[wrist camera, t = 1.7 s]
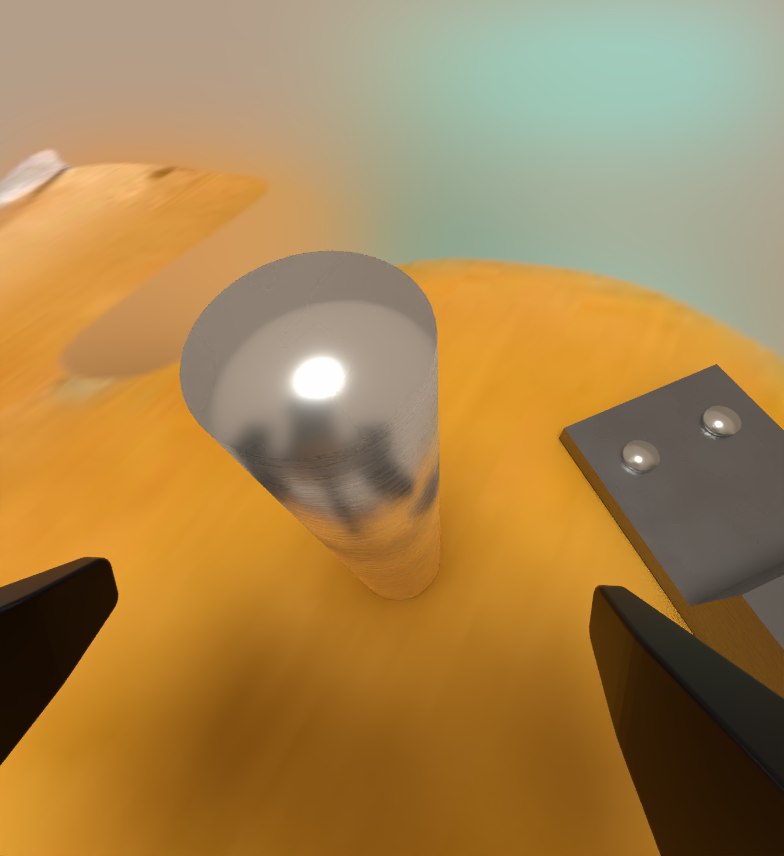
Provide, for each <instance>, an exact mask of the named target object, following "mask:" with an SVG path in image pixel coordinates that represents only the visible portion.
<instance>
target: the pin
mask: <svg viewBox="0 0 784 856" xmlns="http://www.w3.org/2000/svg"><path fill="white" fill-rule="evenodd" d="M180 381H181V389H182V392H183V396H184V400H185V402H186V404H187V406H188V408H189V410H190V412H191V414H192V415H193V416H194V418H195V419H196V421H197V422H198V423H199V424H200V425H201V426H202V427H203V428H204V429H205V430H206V431H207V432H208V433H209V434H210V435H211V436H212V437H213V438H214V439H215V440H216V441H217V442H218V443H219V444H220V445H221V446H222V447H223V448H224V449H225V450H226V451H227V452H229V453H230V454H231V455H232V456H233V457H234V458H235V459H236V460H237V461H238V462H239V463H240V464H241V465H242V466H243V467H244V468H245V469H246V470H247V471H248V472H249V473H250V474H251V475H252V476H253V477H254V478H255V479H256V480H257V481H258V482H260V483H261V484H262V485H263V486H264V487H265V488H266V489H267V490H268V491H269V492H270V493H271V494H272V495H273V496H274V497H275V498H276V499H277V500H278V501H279V502H280V503H281V504H282V505H283V506H284V507H285V508H286V509H287V510H288V511H290V512H291V513H292V514H293V515H294V516H295V517H296V518H297V519H298V520H299V521H300V522H301V523H302V524H303V525H304V526H305V527H306V528H307V529H308V530H309V531H310V532H311V533H312V534H313V535H314V536H315V537H316V538H317V539H318V540H319V541H321V542H322V543H323V544H324V545H325V546H326V547H327V548H328V549H329V550H330V551H331V552H332V553H333V554H334V555H335V556H336V557H337V558H338V559H339V560H340V561H341V562H342V563H343V564H344V565H345V566H346V567H347V568H348V569H349V570H350V571H352V572H353V573H354V574H355V575H356V576H357V577H358V578H359V579H360V580H361V581H362V582H363V583H364V584H365V585H366V586H367V587H368V588H369V589H370V590H371V591H372V592H374V593H375V594H377V595H379V596H381V597H383V598H386V599H390V600H405V599H410V598H412V597H415V596H417V595H419V594H420V593H422V592H423V591H424V590H426V589H427V588H428V587H429V585H430V584H431V583H432V582H433V580H434V578H435V577H436V574H437V572H438V569H439V565H440V497H439V427H438V358H437V327H436V320H435V316H434V313H433V310H432V307H431V305H430V303H429V301H428V299H427V297H426V295H425V294H424V292H423V291H422V290H421V288H420V287H419V286H418V285H417V284H416V283H415V282H414V281H413V280H412V279H411V278H410V277H409V276H408V275H407V274H405V273H404V272H402V271H401V270H400V269H398V268H396V267H395V266H393V265H391V264H389V263H387V262H385V261H382V260H380V259H377V258H375V257H371V256H367V255H363V254H358V253H352V252H344V251H318V252H310V253H303V254H299V255H294V256H290V257H287V258H283V259H280V260H276V261H274V262H271V263H269V264H266V265H264V266H261V267H259V268H258V269H255V270H253V271H252V272H249V273H248V274H246V275H245V276H243V277H241V278H240V279H238V280H236V281H235V282H234V283H232V284H231V285H230V286H228V287H227V288H226V289H224V290H223V291H222V292H221V293H220V294H219V295H218V296H217V297H216V298H215V299H214V300H213V301H212V302H211V303H210V304H209V305H208V306H207V307H206V308H205V310H204V311H203V312H202V314H201V315H200V317H199V318H198V319H197V321H196V322H195V324H194V326H193V328H192V329H191V331H190V333H189V335H188V338H187V340H186V343H185V346H184V349H183V353H182V357H181V364H180Z"/></svg>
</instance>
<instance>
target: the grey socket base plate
mask: <svg viewBox="0 0 784 856" xmlns="http://www.w3.org/2000/svg"><path fill="white" fill-rule="evenodd" d="M559 439H560V440H561V442H562V443H563V445H564V446H565V448H566V449H567V451H568V452H569V453H570V455H571V456H572V458H573V459H574V461H575V462H576V464H577V465H578V467H579V468H580V469H581V471H582V472H583V474H584V475H585V477H586V478H587V480H588V481H589V483H590V484H591V485H592V487H593V488H594V490H595V491H596V493H597V494H598V496H599V497H600V499H601V500H602V501H603V503H604V504H605V506H606V507H607V509H608V510H609V512H610V513H611V515H612V516H613V517H614V519H615V520H616V522H617V523H618V525H619V526H620V528H621V529H622V530H623V532H624V533H625V535H626V536H627V538H628V539H629V541H630V542H631V544H632V545H633V546H634V548H635V549H636V551H637V552H638V554H639V555H640V557H641V558H642V560H643V561H644V562H645V564H646V565H647V567H648V568H649V570H650V571H651V573H652V574H653V576H654V577H655V578H656V580H657V581H658V583H659V584H660V586H661V587H662V589H663V590H664V592H665V593H666V594H667V596H668V597H669V599H670V600H671V602H672V603H673V605H674V606H675V608H676V609H677V610H678V612H679V613H680V615H681V616H682V618H683V619H684V621H685V622H686V624H687V625H688V626H689V628H690V629H691V631H692V632H693V634H694V635H695V637H696V638H698V639H699V640H701V641H702V642H704V643H705V644H707V645H708V646H709V647H711V648H712V649H714V650H715V651H717V652H718V653H719V654H721V655H722V656H724V657H725V658H727V659H728V660H730V661H731V662H732V663H734V664H735V665H737V666H738V667H740V668H741V669H743V670H744V671H745V672H747V673H748V674H750V675H751V676H753V677H754V678H756V679H757V680H758V681H760V682H761V683H763V684H764V685H766V686H767V687H768V688H770V689H771V690H773V691H774V692H776V693H777V694H779V695H780V696H781V697H783V698H784V430H783V429H782V428H781V427H780V426H779V425H778V424H777V423H775V422H774V421H773V420H772V419H771V418H770V417H769V416H768V415H767V414H766V413H765V412H764V411H763V410H762V409H761V408H760V407H759V406H758V405H757V404H756V403H755V402H754V401H753V400H752V399H751V398H750V397H749V396H748V395H747V394H746V393H745V392H744V391H743V390H742V389H741V388H740V387H739V386H738V385H737V384H736V383H735V382H734V381H733V380H732V379H731V378H730V377H729V376H728V375H727V374H726V373H725V372H724V371H723V370H722V369H721V368H720V367H719V366H718V365H717V364H716V365H713V366H711V367H709V368H706V369H704V370H702V371H699V372H697V373H694V374H692V375H690V376H687V377H685V378H682V379H680V380H678V381H675V382H673V383H671V384H668V385H666V386H663V387H661V388H659V389H656V390H654V391H651V392H649V393H647V394H644V395H642V396H640V397H637V398H635V399H632V400H630V401H628V402H625V403H623V404H620V405H618V406H616V407H613V408H611V409H609V410H606V411H604V412H601V413H599V414H597V415H594V416H592V417H589V418H587V419H585V420H582V421H580V422H578V423H575V424H573V425H570V426H568V427H566V428H564V430H563V432H562V433H561V435H560V437H559Z"/></svg>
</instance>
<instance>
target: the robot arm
mask: <svg viewBox="0 0 784 856" xmlns="http://www.w3.org/2000/svg"><path fill="white" fill-rule="evenodd" d="M117 601H118V590H117V586H116V582H115V578H114V574H113V570H112V566H111V563H110V562H109V561H108V560H107V559H105V558H99V557H83V558H80V559H77V560H75V561H72V562H69V563H66V564H64V565H61V566H58V567H55V568H53V569H50V570H47V571H44V572H42V573H39V574H36V575H33V576H31V577H28V578H25V579H22V580H19V581H17V582H14V583H11V584H8V585H6V586H3V587H0V765H1V764H2V763H3V762H4V760H5V759H6V758H7V757H8V755H9V754H10V753H11V751H12V750H13V749H14V748H15V746H16V745H17V744H18V742H19V741H20V740H21V739H22V737H23V736H24V735H25V733H26V732H27V731H28V730H29V728H30V727H31V726H32V724H33V723H34V722H35V721H36V719H37V718H38V717H39V715H40V714H41V713H42V712H43V710H44V709H45V708H46V706H47V705H48V704H49V703H50V701H51V700H52V699H53V697H54V696H55V695H56V693H57V692H58V691H59V689H60V688H61V687H62V685H63V684H64V683H65V681H66V680H67V678H68V677H69V676H70V674H71V673H72V671H73V670H74V668H75V667H76V665H77V664H78V662H79V661H80V659H81V658H82V656H83V655H84V653H85V652H86V650H87V649H88V647H89V646H90V644H91V643H92V641H93V640H94V638H95V637H96V635H97V634H98V632H99V631H100V629H101V628H102V626H103V625H104V623H105V622H106V620H107V619H108V617H109V615H110V614H111V612H112V611H113V609H114V608H115V606H116V604H117ZM589 632H590V639H591V644H592V647H593V651H594V655H595V659H596V662H597V666H598V670H599V674H600V677H601V681H602V685H603V689H604V692H605V696H606V700H607V704H608V707H609V711H610V715H611V719H612V722H613V726H614V729H615V733H616V736H617V739H618V742H619V745H620V748H621V751H622V754H623V756H624V759H625V762H626V764H627V767H628V770H629V772H630V775H631V778H632V780H633V783H634V786H635V788H636V791H637V794H638V796H639V799H640V802H641V804H642V807H643V810H644V812H645V815H646V818H647V820H648V823H649V825H650V828H651V831H652V833H653V836H654V839H655V841H656V844H657V847H658V849H659V852H660V855H661V856H784V698H783V697H781V696H780V695H779V694H777V693H776V692H774V691H773V690H771V689H770V688H768V687H767V686H766V685H764V684H763V683H761V682H760V681H758V680H757V679H756V678H754V677H753V676H751V675H750V674H748V673H747V672H745V671H744V670H743V669H741V668H740V667H738V666H737V665H735V664H734V663H732V662H731V661H730V660H728V659H727V658H725V657H724V656H722V655H721V654H719V653H718V652H717V651H715V650H714V649H712V648H711V647H709V646H708V645H707V644H705V643H704V642H702V641H701V640H699V639H698V638H696V637H695V636H694V635H692V634H691V633H689V632H688V631H686V630H685V629H683V628H682V627H681V626H679V625H678V624H676V623H675V622H673V621H672V620H670V619H669V618H668V617H666V616H665V615H663V614H662V613H660V612H659V611H657V610H656V609H655V608H653V607H652V606H650V605H649V604H647V603H646V602H645V601H643V600H642V599H640V598H639V597H637V596H636V595H634V594H633V593H632V592H630V591H629V590H627V589H626V588H624V587H621V586H608V585H599V586H597V587H596V588H595V591H594V594H593V602H592V609H591V616H590V624H589Z"/></svg>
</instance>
